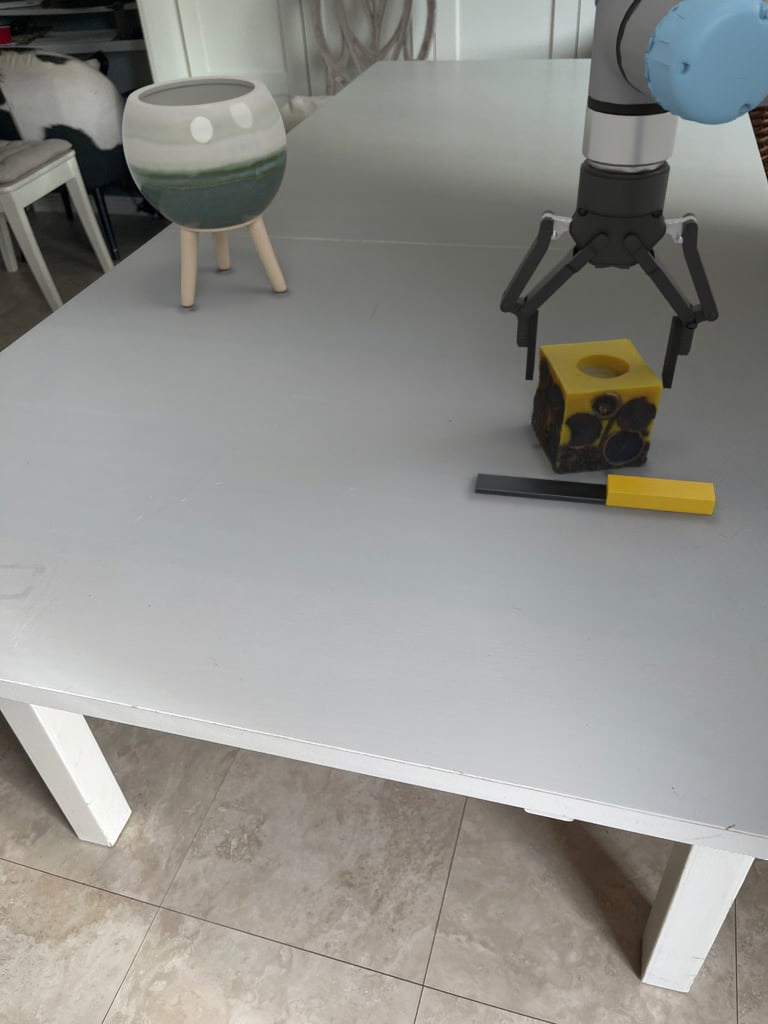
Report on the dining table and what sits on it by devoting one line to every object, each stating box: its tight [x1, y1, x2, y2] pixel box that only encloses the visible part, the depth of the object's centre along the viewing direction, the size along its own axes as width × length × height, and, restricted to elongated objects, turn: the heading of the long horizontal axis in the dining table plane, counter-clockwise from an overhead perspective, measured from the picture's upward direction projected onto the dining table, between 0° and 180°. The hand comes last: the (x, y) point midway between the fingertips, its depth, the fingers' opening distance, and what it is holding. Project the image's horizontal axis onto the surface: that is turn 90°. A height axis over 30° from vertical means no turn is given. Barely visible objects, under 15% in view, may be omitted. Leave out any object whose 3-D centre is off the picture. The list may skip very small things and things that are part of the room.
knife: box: [474, 473, 717, 516], centre depth 81 cm, size 23×3×2 cm, turn 78°
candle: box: [530, 338, 663, 474], centre depth 85 cm, size 10×10×10 cm
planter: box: [121, 75, 288, 308], centre depth 116 cm, size 22×22×28 cm
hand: (596, 378), depth 83 cm, fingers open, 13 cm apart
